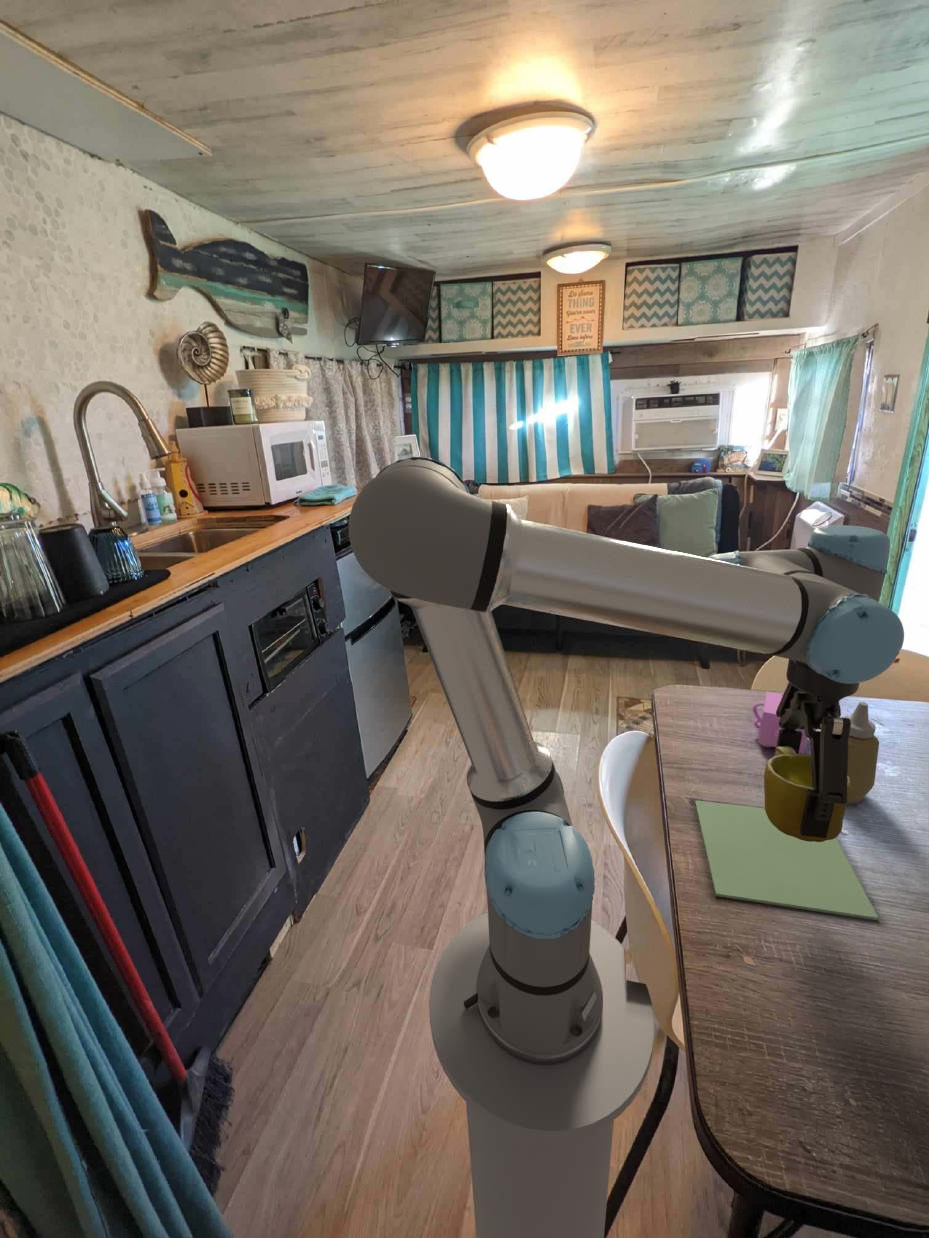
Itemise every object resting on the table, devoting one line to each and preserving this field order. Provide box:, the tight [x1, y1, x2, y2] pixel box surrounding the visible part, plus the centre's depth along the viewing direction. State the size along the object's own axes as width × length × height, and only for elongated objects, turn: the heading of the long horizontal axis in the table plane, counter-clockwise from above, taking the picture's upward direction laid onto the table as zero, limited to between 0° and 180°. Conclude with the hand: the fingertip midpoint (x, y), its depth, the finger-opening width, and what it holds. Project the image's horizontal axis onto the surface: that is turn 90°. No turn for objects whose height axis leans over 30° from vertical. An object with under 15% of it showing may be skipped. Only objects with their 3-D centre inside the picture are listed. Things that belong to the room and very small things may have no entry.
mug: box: [763, 747, 850, 842], centre depth 72 cm, size 12×10×10 cm
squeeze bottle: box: [842, 701, 880, 804], centre depth 92 cm, size 8×8×18 cm
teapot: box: [752, 685, 818, 755], centre depth 108 cm, size 18×13×10 cm
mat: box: [694, 800, 879, 921], centre depth 84 cm, size 20×20×1 cm
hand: (797, 799), depth 73 cm, fingers closed on mug, 12 cm apart
